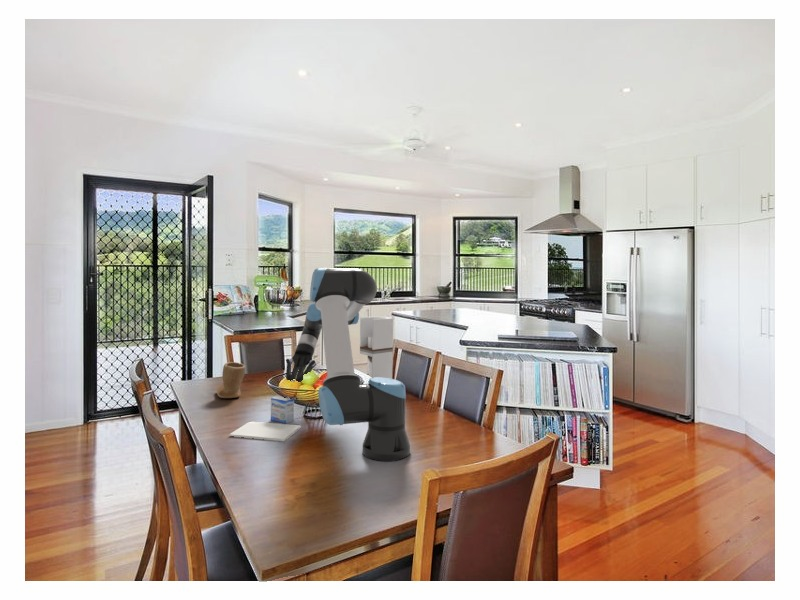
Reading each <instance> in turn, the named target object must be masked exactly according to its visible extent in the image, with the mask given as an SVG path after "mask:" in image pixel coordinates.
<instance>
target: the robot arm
mask: <svg viewBox="0 0 800 600" xmlns="http://www.w3.org/2000/svg"><path fill="white" fill-rule="evenodd" d="M377 289H378V287H377V283H376V280H375V279H374V277H373V276H372V275H371V274H370V273H369V272H367V271H365V270H364V269H360V268H355V267H354V268H353V267H351V268H349V267H348V268H347V267H345V268H342V267H341V268H338V267H330V268H329V267H321V268H320V267H318V268H317V267H316V268H315V269H314V270H313V271H312V276H311V280H310V288H309V300H310V302H311V303H310V304H309V306H308V307H307V310H306V312H305V313H306V314H305V320H304V323H303V328H302V332H301V334H300V338H299V340H298V342H297V346H296V348H295V351H294V354H293V356H292V357H291V358H286V359H285V362H286V372H285V379H286V381H287V380H290V381H291V380H292V381H293V382H295V381H298V382H301V381H302V380H303V375H304V374H307V373H308V372H310V373H311V372H312V370H313V369H314V368H315V367H316V366H317V363H316V361H315V360H314V359H313V357H314V353H315V351H316V347H317V343H318V340H319V338H320V335H321V331H322V336H323V345H324V349H323V350H324V356H325V358H324V359H325V368H326V378H325V379H324V380H323V382H322V386H320V387H319V389H318V393H317V394H318V404H319V409H320V414H321V416H322V419H323V421H324V422H325V423H326V425H330V426H337V425H339V426H343V425H349V424H360V423H368V425H367V427H368V428H367V431H366V434H365V437H364V440H363V443H362V455H363V456H365V457H367V458H368V459H371V460H375V461H381V462H392V460H394V461H398V459H400V460H402V458H403V459H405V458H407V457H408V456H410V454H409V453H411V444H410V440H409V437H408V433H407V431H406V403H407V402H406V399H407V395H406V393H407V392H406V385H405V384H404V383H403V382H402V381H400V380H398V379H394V378H392V379H390V378H382V377H374V378H372V377H370V378H369V379H368V383H362V384H361V378H360V376H359V375H358V374H356V373H355V367H354V366H355V365H354V360H353V352H352V345H351V342H352V341H351V335H350V328H349V327H350V326H351V325H356V324H358V323H359V321H360V312H361V310H362V309H363V308H364V307H365V305H368V304H370V303H371V302H372V301H373V300H374V299H375V297H376V294H377ZM293 363H294V364H293ZM292 365H293V366H292ZM292 367H293V368H292ZM293 379H295V380H293ZM292 381H291V382H292ZM301 383H302V382H301ZM406 456H407V457H406ZM404 457H405V458H404Z"/></svg>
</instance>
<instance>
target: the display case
mask: <svg viewBox="0 0 800 600" xmlns="http://www.w3.org/2000/svg"><path fill="white" fill-rule="evenodd" d="M359 323H360V325H359V355H364V356H367V365H366V366H367V368H366V369H367V372H366V373H367V375H368V376H369V377H370V378H374V377H382V378H390V379H393V365H394V363H393V360H394V358H393V357H394V355H393V354H394V349H393V348H394V318H393V317H388V316H382V315H381V316H376V315H375V316H363V317H362V316H361V317H360V316H359Z"/></svg>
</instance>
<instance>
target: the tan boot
mask: <svg viewBox="0 0 800 600" xmlns="http://www.w3.org/2000/svg"><path fill="white" fill-rule="evenodd" d="M245 373H246V365H245V364H243V363H239V362H235V361H228V362H226V363H225V364H224V365H223V367H222V375H221V376H222V383H223V384H222V385H219V386H217V388H216V394H217V396H218V397H219V398H221V399H233V398H239V397H240V396H241V395H242V392H241V389H240V387H241V383H242V382H243V380H244V377H245Z"/></svg>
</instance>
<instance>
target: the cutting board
mask: <svg viewBox="0 0 800 600" xmlns="http://www.w3.org/2000/svg"><path fill="white" fill-rule="evenodd" d="M301 428H302V426H301V425H299V424H297V425H296V424H289V423H287V424H286V423H277V422H276V423H275V422H263V421H249V422H247V423H245V424H244V425H242V426H241V427H239V428H237V429H236V430H234V431H232V432H231V433H229V437H230V436H234V437H233V438H241V437H244V438H243V439H252V438H254V440H263V439H264V440H265V441H274V442H286V441H287V440H288V439H289V438H290V437H291V436H293V435H294V434H296V432H298V431H299V430H300V429H301Z"/></svg>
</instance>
